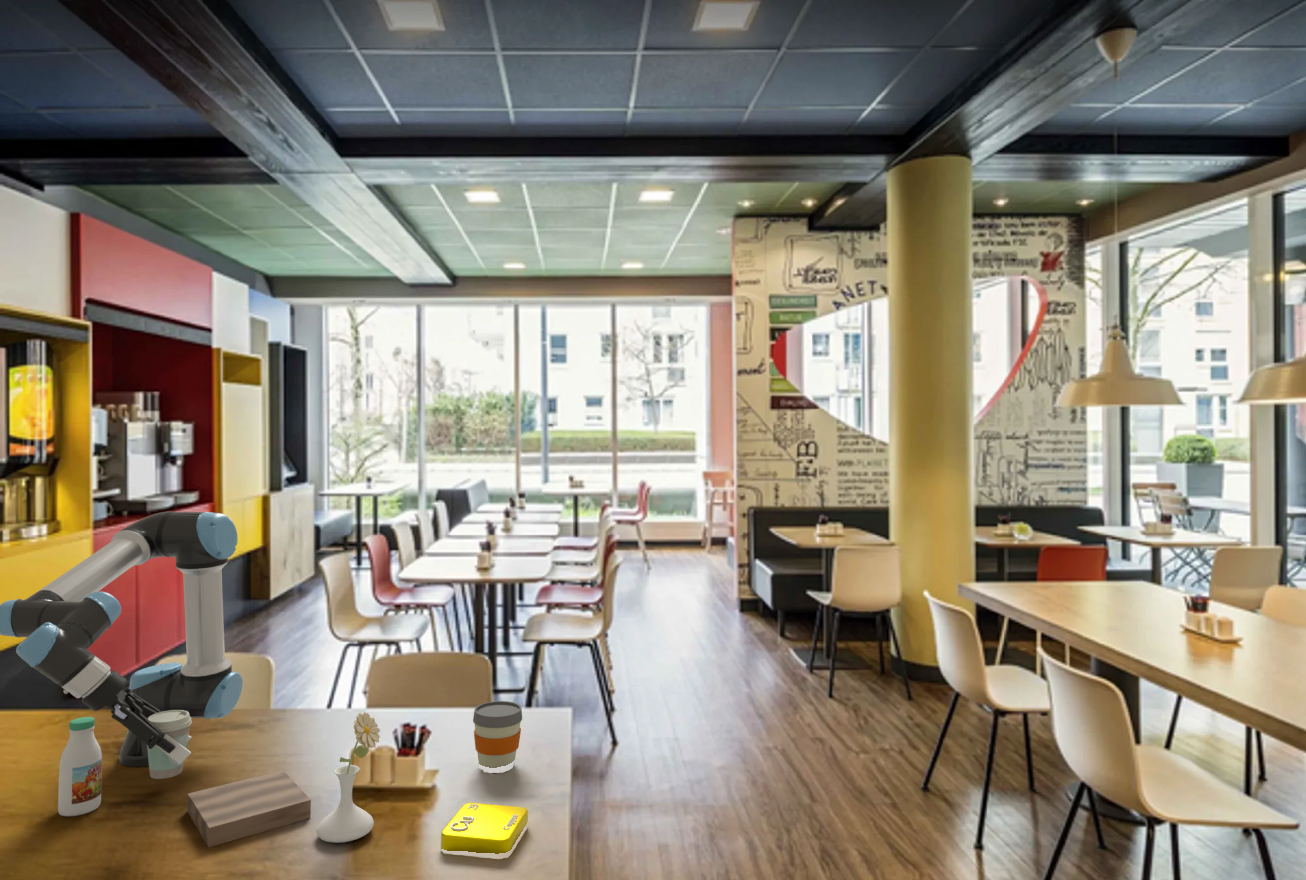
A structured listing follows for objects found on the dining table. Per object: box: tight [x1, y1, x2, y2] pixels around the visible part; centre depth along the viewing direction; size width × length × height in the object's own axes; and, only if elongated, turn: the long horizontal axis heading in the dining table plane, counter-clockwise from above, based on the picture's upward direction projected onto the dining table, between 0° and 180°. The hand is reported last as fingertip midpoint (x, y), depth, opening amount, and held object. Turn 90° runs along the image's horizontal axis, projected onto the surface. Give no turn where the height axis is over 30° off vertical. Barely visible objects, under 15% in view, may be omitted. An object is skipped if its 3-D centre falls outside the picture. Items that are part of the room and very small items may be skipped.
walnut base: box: [187, 769, 312, 848], centre depth 173 cm, size 20×20×4 cm
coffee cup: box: [147, 710, 193, 780], centre depth 163 cm, size 9×8×12 cm
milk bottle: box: [57, 716, 103, 817], centre depth 173 cm, size 8×8×20 cm
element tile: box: [440, 802, 529, 854], centre depth 164 cm, size 15×15×5 cm
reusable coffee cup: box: [472, 700, 523, 768], centre depth 201 cm, size 12×13×15 cm
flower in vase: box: [316, 711, 381, 844], centre depth 165 cm, size 13×11×25 cm
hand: (185, 750), depth 164 cm, fingers closed on coffee cup, 8 cm apart
